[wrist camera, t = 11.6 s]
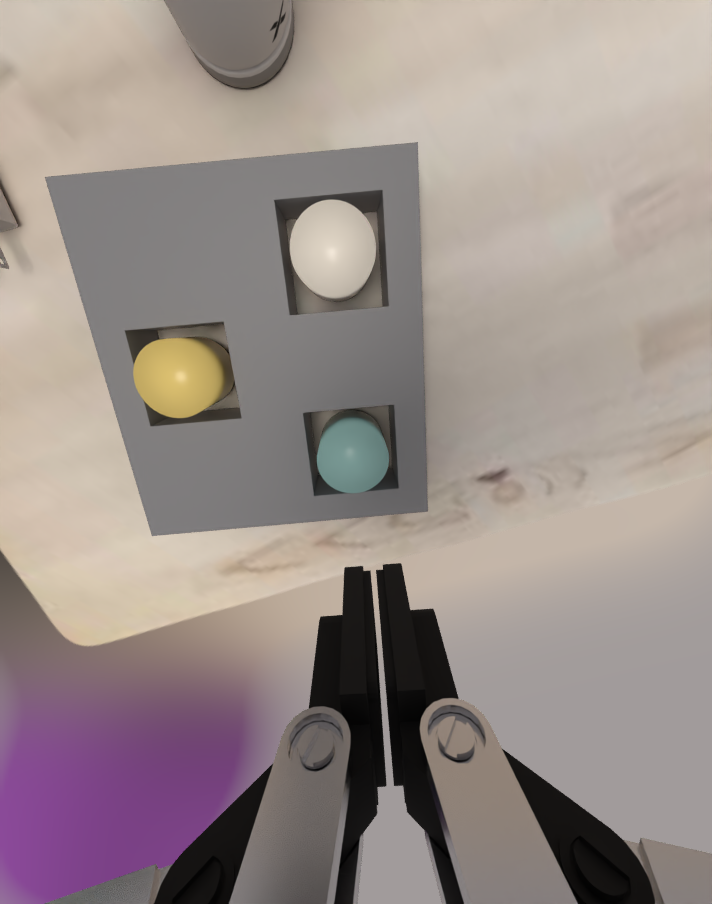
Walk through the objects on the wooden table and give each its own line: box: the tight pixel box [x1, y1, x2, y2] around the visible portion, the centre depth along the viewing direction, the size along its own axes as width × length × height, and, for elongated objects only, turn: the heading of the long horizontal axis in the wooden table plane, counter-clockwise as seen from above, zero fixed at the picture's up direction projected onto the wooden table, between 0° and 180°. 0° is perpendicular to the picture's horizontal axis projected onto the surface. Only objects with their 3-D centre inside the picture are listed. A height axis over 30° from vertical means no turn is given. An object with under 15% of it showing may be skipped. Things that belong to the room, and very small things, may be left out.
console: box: [45, 142, 428, 536], centre depth 25 cm, size 20×22×4 cm
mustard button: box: [133, 337, 234, 418], centre depth 24 cm, size 5×5×4 cm
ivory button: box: [290, 200, 376, 302], centre depth 22 cm, size 5×5×4 cm
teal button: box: [317, 410, 389, 493], centre depth 26 cm, size 5×5×4 cm
